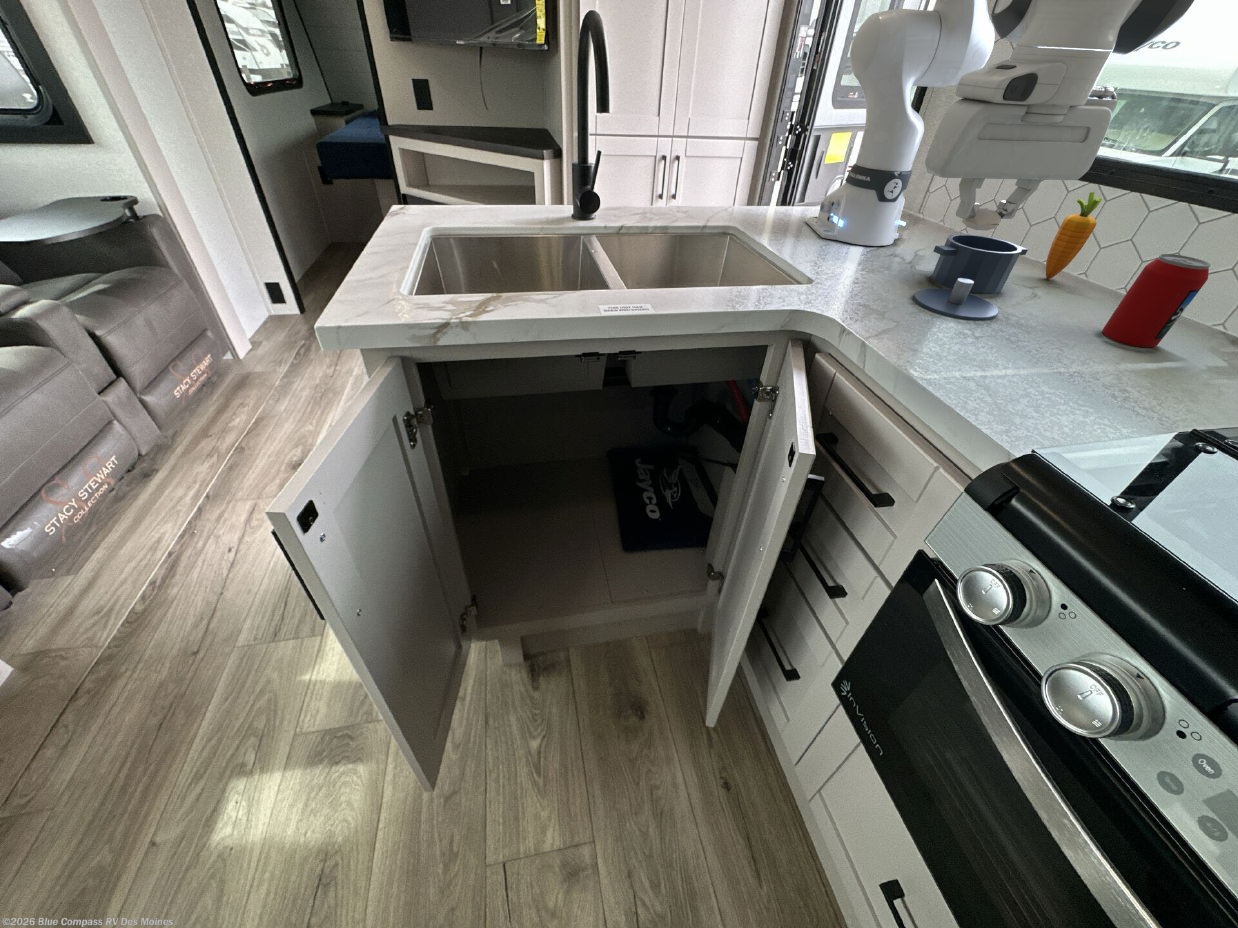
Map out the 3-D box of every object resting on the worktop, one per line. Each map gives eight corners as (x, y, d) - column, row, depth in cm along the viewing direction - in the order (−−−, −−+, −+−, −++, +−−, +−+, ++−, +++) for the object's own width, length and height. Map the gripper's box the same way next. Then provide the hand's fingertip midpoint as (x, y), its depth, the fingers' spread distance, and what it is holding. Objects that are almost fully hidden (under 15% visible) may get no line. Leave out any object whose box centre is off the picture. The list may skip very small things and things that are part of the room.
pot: (904, 276, 97) (921, 234, 92) (981, 275, 99) (1001, 234, 95) (944, 298, 88) (964, 253, 83) (1027, 296, 91) (1051, 253, 86)
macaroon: (996, 230, 67) (1006, 209, 65) (991, 238, 64) (1002, 217, 62) (960, 223, 69) (969, 203, 67) (954, 231, 66) (963, 210, 64)
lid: (897, 295, 88) (907, 268, 85) (959, 294, 90) (972, 267, 87) (944, 325, 79) (957, 295, 76) (1013, 323, 81) (1029, 294, 78)
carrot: (1058, 285, 97) (1110, 197, 87) (1029, 277, 100) (1076, 192, 90) (1066, 280, 99) (1116, 194, 90) (1037, 273, 102) (1083, 189, 93)
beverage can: (1164, 354, 74) (1231, 270, 66) (1113, 348, 75) (1172, 264, 67) (1137, 335, 79) (1196, 255, 72) (1089, 330, 80) (1142, 250, 72)
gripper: (1100, 85, 60) (1034, 211, 69) (946, 77, 57) (898, 210, 66) (1150, 89, 56) (1072, 225, 65) (986, 81, 53) (928, 224, 61)
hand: (983, 217), depth 65 cm, fingers closed on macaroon, 4 cm apart
